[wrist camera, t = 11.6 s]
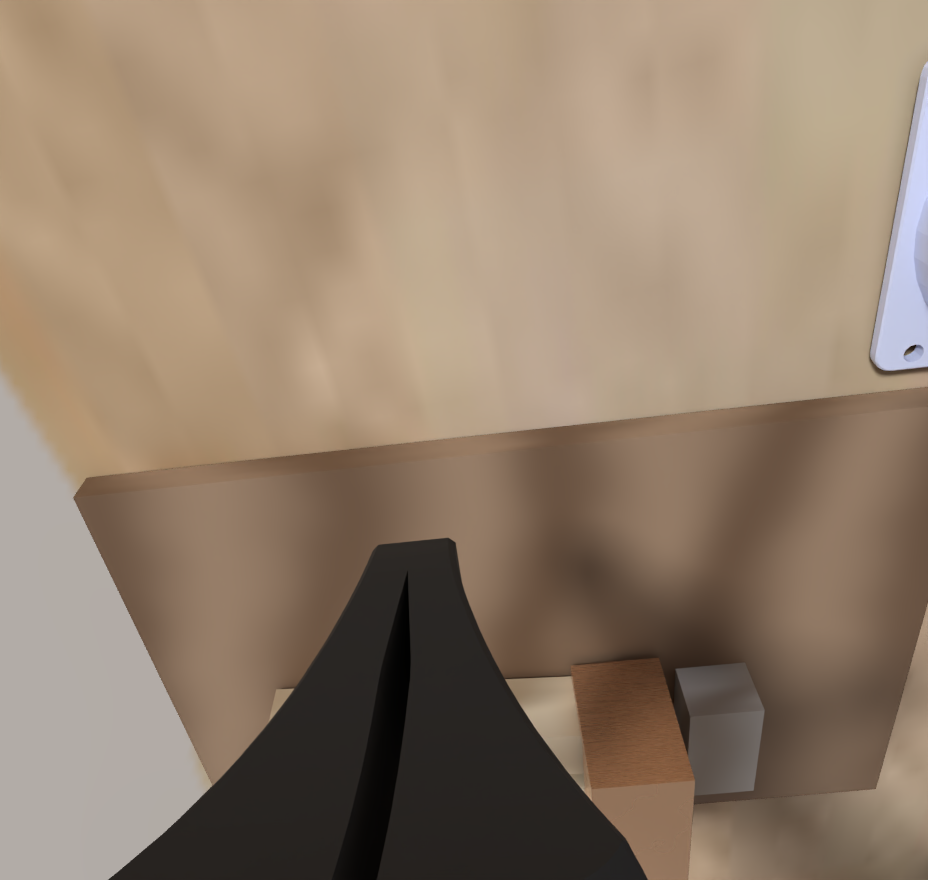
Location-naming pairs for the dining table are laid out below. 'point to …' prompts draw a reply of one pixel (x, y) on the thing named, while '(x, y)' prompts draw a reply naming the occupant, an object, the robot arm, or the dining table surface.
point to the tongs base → (570, 571)
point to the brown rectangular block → (637, 761)
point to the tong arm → (534, 715)
